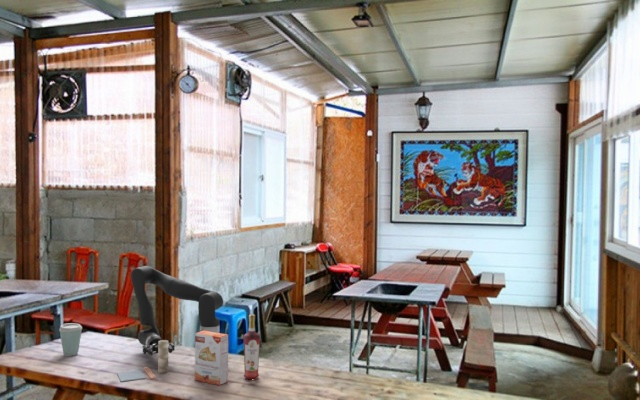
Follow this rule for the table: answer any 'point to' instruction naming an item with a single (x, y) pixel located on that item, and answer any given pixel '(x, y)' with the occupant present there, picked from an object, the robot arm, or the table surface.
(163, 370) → the beige tall cylinder
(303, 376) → the table surface
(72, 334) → the disposable coffee cup
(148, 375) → the orange long flat bar
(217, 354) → the cracker box
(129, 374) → the mat
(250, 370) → the liquor
